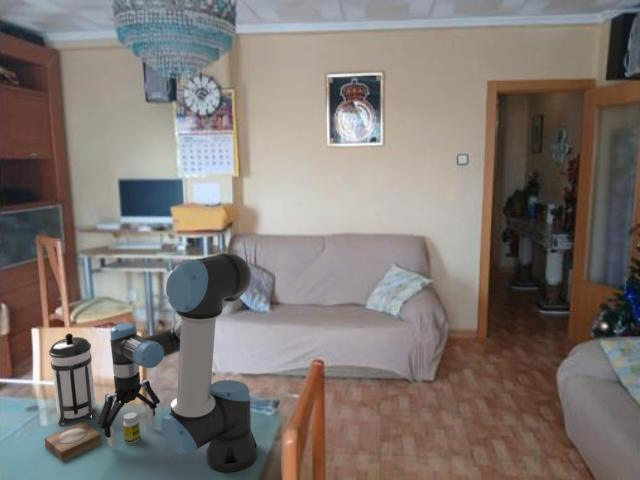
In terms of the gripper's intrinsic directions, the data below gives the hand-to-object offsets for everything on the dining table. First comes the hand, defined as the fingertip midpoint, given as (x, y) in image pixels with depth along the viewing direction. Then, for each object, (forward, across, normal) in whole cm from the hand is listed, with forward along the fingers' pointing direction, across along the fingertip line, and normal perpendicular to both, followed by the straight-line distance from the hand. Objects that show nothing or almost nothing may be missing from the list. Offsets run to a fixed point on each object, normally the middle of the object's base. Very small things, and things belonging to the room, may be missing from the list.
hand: (131, 435), depth 156 cm
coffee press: (+2, +4, -28) cm, 28 cm away
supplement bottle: (+2, 0, 0) cm, 2 cm away
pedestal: (+1, +13, -12) cm, 18 cm away
